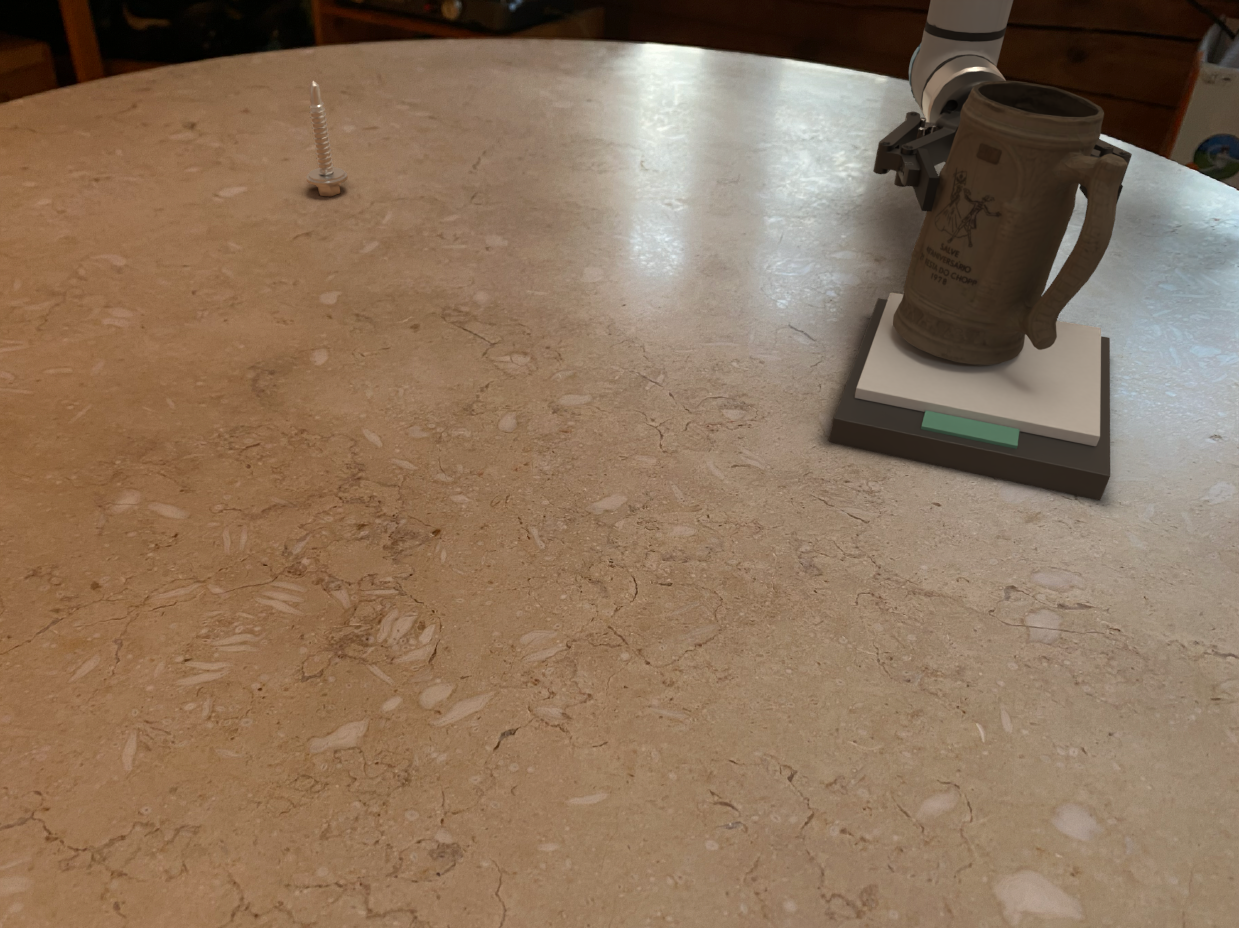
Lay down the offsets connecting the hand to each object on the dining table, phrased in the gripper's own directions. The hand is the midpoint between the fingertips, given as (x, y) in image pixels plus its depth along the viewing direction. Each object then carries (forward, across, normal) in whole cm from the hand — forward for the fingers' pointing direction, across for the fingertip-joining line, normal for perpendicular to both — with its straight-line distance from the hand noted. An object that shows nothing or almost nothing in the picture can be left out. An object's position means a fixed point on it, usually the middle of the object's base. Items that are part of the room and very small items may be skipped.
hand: (1020, 199), depth 80 cm
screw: (-35, +68, -17) cm, 79 cm away
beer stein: (+2, +1, -12) cm, 12 cm away
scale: (+4, 0, -16) cm, 17 cm away
